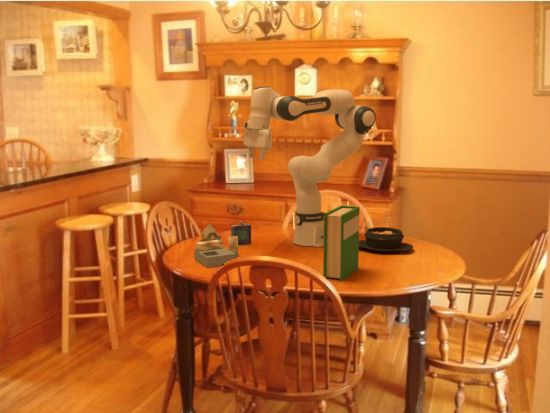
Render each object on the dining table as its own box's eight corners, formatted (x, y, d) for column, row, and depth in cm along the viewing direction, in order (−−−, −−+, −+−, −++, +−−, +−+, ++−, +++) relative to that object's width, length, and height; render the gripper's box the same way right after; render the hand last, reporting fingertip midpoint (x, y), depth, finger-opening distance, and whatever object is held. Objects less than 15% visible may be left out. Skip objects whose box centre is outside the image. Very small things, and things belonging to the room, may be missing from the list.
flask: (231, 246, 256) (231, 222, 254) (230, 244, 259) (229, 221, 257) (251, 244, 259) (251, 220, 257) (250, 242, 262) (249, 219, 260)
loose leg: (235, 254, 242) (235, 235, 241) (239, 256, 239) (239, 237, 237) (227, 255, 240) (227, 236, 239) (231, 257, 237) (230, 238, 236)
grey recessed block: (221, 255, 240) (221, 246, 240) (235, 263, 228) (235, 253, 228) (194, 259, 235) (194, 249, 234) (207, 267, 223) (207, 257, 222)
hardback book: (342, 281, 206) (343, 215, 201) (323, 278, 209) (324, 213, 204) (358, 268, 221) (359, 206, 217) (339, 266, 224) (340, 205, 220)
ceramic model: (196, 243, 261) (195, 221, 260) (220, 241, 264) (220, 220, 263) (201, 251, 248) (200, 228, 246) (226, 249, 251) (226, 226, 249)
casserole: (350, 252, 245) (350, 233, 243) (359, 242, 262) (359, 224, 260) (410, 257, 236) (411, 237, 235) (415, 246, 254) (416, 228, 252)
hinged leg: (220, 246, 239) (220, 239, 238) (223, 247, 236) (223, 240, 236) (195, 249, 234) (195, 242, 233) (198, 251, 231) (198, 243, 231)
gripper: (277, 127, 233) (274, 161, 235) (255, 125, 251) (252, 157, 252) (264, 125, 230) (260, 160, 232) (242, 123, 248) (239, 156, 249)
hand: (256, 158), depth 242 cm, fingers open, 8 cm apart
